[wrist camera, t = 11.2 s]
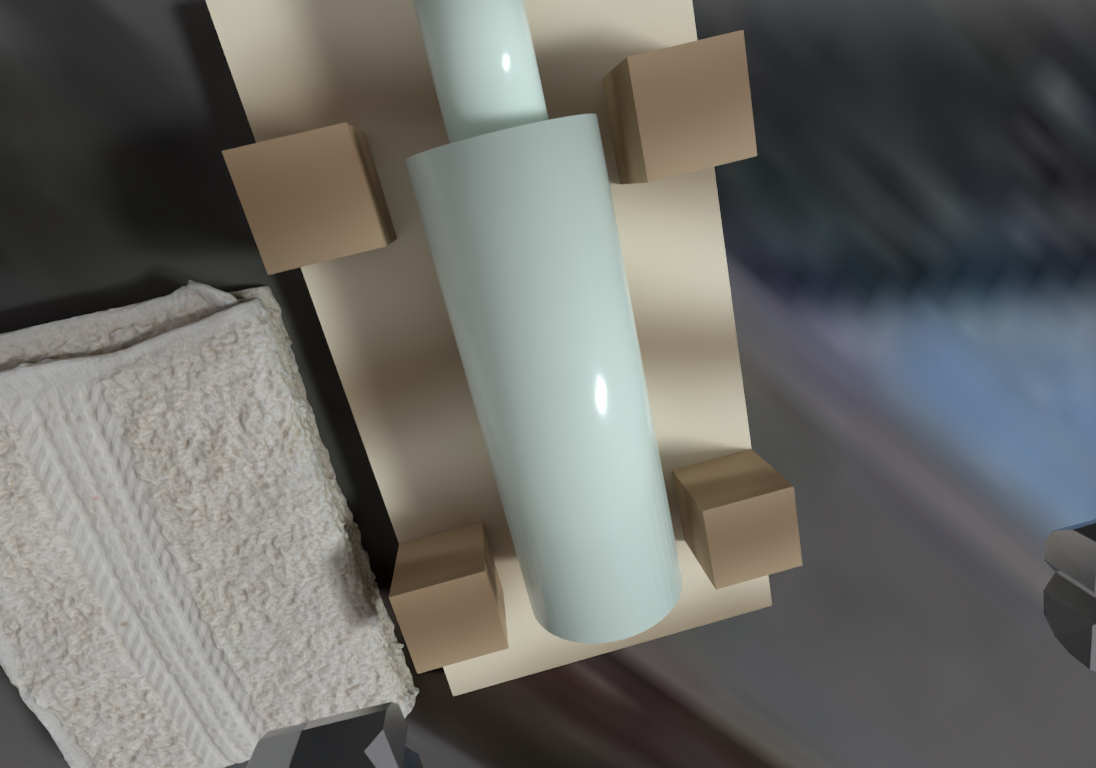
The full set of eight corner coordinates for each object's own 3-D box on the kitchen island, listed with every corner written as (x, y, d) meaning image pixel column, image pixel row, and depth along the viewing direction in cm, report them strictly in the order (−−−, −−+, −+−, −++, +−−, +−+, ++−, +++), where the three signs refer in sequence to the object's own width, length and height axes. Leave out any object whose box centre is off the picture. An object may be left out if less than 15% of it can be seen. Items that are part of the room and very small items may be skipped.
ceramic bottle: (655, 527, 23) (706, 615, 18) (524, 563, 22) (540, 662, 18) (548, -26, 17) (580, -113, 12) (370, 14, 17) (332, -60, 12)
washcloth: (271, 257, 20) (237, 268, 17) (431, 682, 25) (426, 746, 22) (-104, 350, 19) (-207, 378, 16) (145, 764, 25) (102, 841, 22)
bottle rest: (758, 587, 25) (812, 659, 21) (453, 673, 25) (451, 764, 21) (664, -85, 18) (721, -166, 14) (222, 13, 17) (148, -43, 13)
